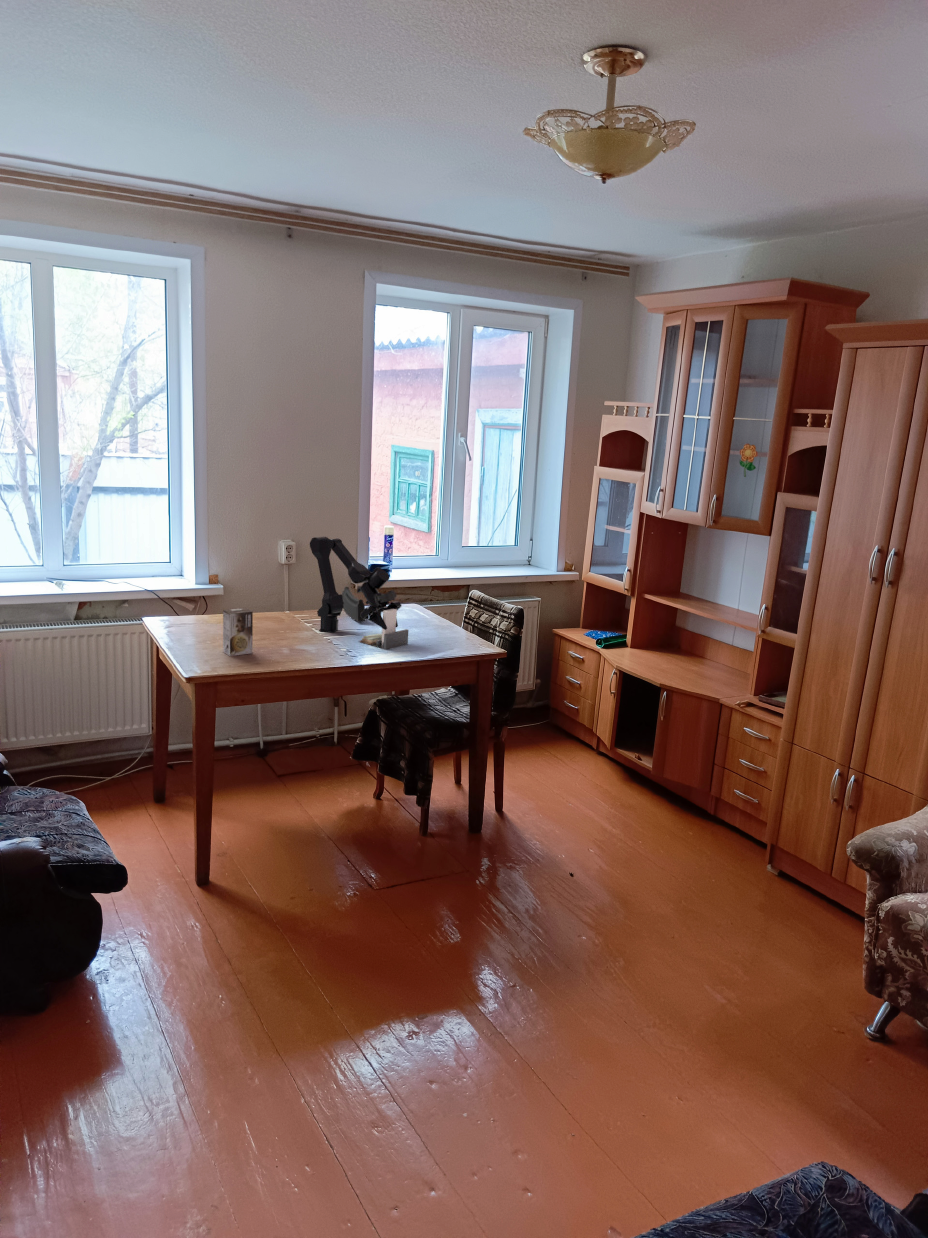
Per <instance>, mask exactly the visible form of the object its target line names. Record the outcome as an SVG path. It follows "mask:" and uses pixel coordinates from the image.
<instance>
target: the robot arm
mask: <svg viewBox="0 0 928 1238" xmlns="http://www.w3.org/2000/svg"><path fill="white" fill-rule="evenodd" d="M309 548H310V550H311V553H312V555H313V556H314V557H315V558H316V560H317V565H318V569H319V575H320V579H321V583H322V584H321V585H322V591H323V596H322V600H321V607H320V608H318V610H316V611H317V617H320V624H319V625H320V627H319V628H320V629H319V630H318V631H319V632H326V633H335V632H336V631H338V630H339V619H338V617H339V616H341V614H342V611H343V610H344V609H343V604H344V602H343V597H342V593H341V594H339V593H338V592H337V590H336V584H335V579H334V574H333V570H332V566H331V561H330V560H331V559H330V557H331V553H332V552H333V553H334V554H335V556H336V557H338V558H337V559H339V560H340V562H341V563H342V564H343V565H344V566H345V568H346V570H347V574H348V577H349V578H350V580H351V581H352V583H353V584H355V585H356V584H361V585H358V586H357V590H356V593H357V594H358V593H359V594H360V593H362V595H363V596H364V598H365V599H366V600H365V604H366V605H367V606H365V609H364V610H363V611H362V612H361V618H362V619H363V620H365V621H366V620H367V621H370V622H372V623H373V624H376V625H377V626H379V627H380V628H381V629H382V628H383V629H385V630H386V629H387V626H386V624H385V622H384V620H383V616H382V613H383V611H384V610H390V609H396V610H397V611H398V610H399V609H400V608H402V607H403V606H402V603H401V602H400V601H396V598H397V593H396V591H395V590H393V589H392V590H389V591H387V592H385V593H383V592H379V590H380V589H381V588H382V587H384V585H385V584H386V583H387V582H388V581H389V580H390V575H389V573H388V572H387V571H385V570H384V569H382V568H381V567H379V566H378V567H375V569H373V571H370V570H369V569H368V568H367V567H366V566H365V565H364V564H362V563H360V562H358V560H357V559H356V558H355V557H354V556H353V555H352V554H351V552H350V551H349V549H348V548H347V547H346V545H344V543H343V541H342V540H341V538H329V537H328V536H318V537H317V536H316V537H314V536H313V537H312V538H311V540H310V542H309ZM368 605H369V606H368ZM398 627H399V624H398V619H397V617H396V628H398Z"/></svg>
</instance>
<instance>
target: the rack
mask: <svg viewBox="0 0 928 1238" xmlns="http://www.w3.org/2000/svg"><path fill="white" fill-rule="evenodd" d="M409 632H410V631H409V629H408V628H405V629H401V630H398V631H396V632H392V633H387V634H384V642H383V646H382V645H381V642H382V639H381V640H377V642H376V644H372V645H370V644H367V643H363V642H360V640H359V641H358V643H360V644H364V645H366V646H371V647H375V648H377V649H381V650H385V651H386V650H392V649H396V648H399V647H404V646H407V645H408V644H409Z"/></svg>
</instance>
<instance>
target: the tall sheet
mask: <svg viewBox="0 0 928 1238" xmlns="http://www.w3.org/2000/svg"><path fill="white" fill-rule="evenodd" d="M397 614H398V610H396V609H390V610H384V611H383V612H382V618H383V620H384V622H385V624H386V626H387V629H386V630H385V629H383V628H382V627H381V634H382V642H381V645H382V646H383V642H384V634H387V633H392V632H396V630H397V627H396V618H397Z"/></svg>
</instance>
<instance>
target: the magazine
mask: <svg viewBox="0 0 928 1238" xmlns="http://www.w3.org/2000/svg"><path fill="white" fill-rule="evenodd" d="M341 595H342V597H343V602H344V604H343V609H342V610H343V611H344V612H345V613H346V615H347V616H348V617H349V618H350V617H351V618H350V619H351V620H353V619H354V620H353V621H356V622H359V623H364V622H366V620H363V619H362V618H361V612H362V611H363V610H364V609H365V608H366V605H365V603H364V600H363V599H359V598H357V597H355V596H354V594H353V593H352V591H351V590H350V587H348V586H345V587H344V590H342V593H341Z"/></svg>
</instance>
